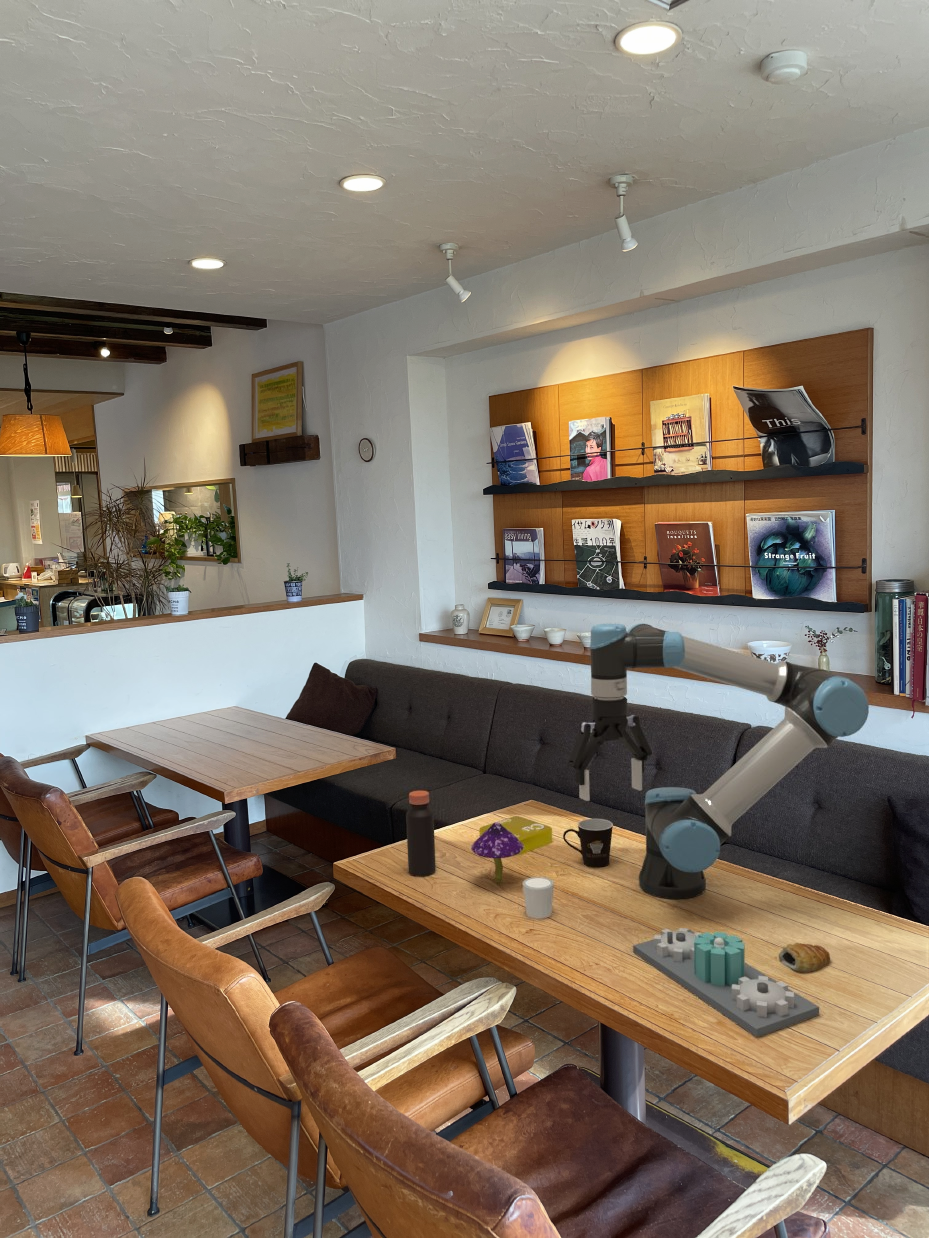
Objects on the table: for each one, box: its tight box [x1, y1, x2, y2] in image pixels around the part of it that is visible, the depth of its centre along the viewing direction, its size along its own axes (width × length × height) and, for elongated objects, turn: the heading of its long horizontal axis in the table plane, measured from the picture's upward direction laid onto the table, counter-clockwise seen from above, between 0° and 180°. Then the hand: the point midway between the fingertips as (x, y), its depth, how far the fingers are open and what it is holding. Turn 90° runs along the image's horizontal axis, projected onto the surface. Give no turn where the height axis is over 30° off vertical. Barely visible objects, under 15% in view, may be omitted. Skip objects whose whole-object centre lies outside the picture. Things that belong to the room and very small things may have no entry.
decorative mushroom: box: [470, 821, 524, 884], centre depth 216 cm, size 12×12×15 cm
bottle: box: [405, 790, 437, 877], centre depth 225 cm, size 7×7×20 cm
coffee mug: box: [562, 818, 614, 869], centre depth 228 cm, size 12×9×10 cm
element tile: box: [479, 815, 553, 856], centre depth 244 cm, size 15×15×5 cm
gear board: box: [632, 927, 820, 1038], centre depth 168 cm, size 14×34×8 cm, turn 26°
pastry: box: [778, 942, 831, 973], centre depth 174 cm, size 9×7×4 cm
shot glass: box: [522, 876, 555, 920], centre depth 200 cm, size 7×7×7 cm
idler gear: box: [694, 931, 746, 986], centre depth 168 cm, size 9×9×6 cm
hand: (611, 794), depth 196 cm, fingers open, 13 cm apart
